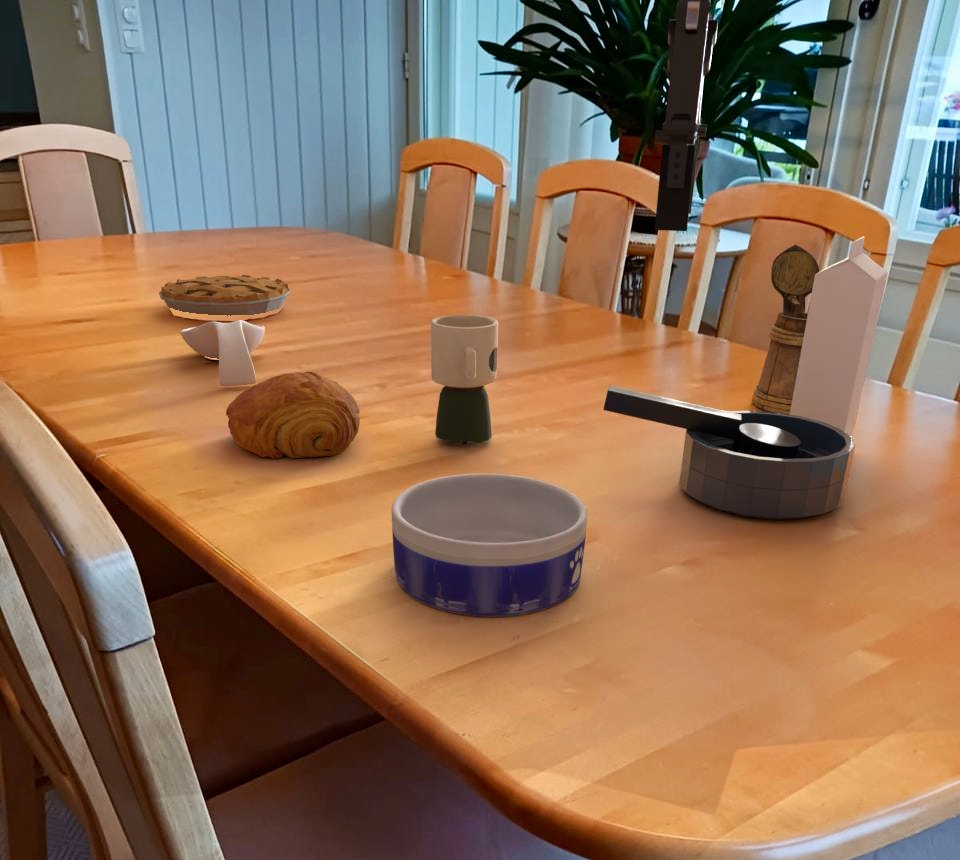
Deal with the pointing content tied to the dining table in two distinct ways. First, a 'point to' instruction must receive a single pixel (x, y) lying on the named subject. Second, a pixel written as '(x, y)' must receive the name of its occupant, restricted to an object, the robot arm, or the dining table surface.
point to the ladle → (704, 422)
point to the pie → (225, 295)
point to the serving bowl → (770, 470)
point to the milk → (839, 340)
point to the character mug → (464, 375)
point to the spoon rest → (227, 348)
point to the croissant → (294, 417)
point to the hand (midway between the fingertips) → (673, 221)
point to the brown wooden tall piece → (786, 330)
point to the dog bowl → (488, 543)
